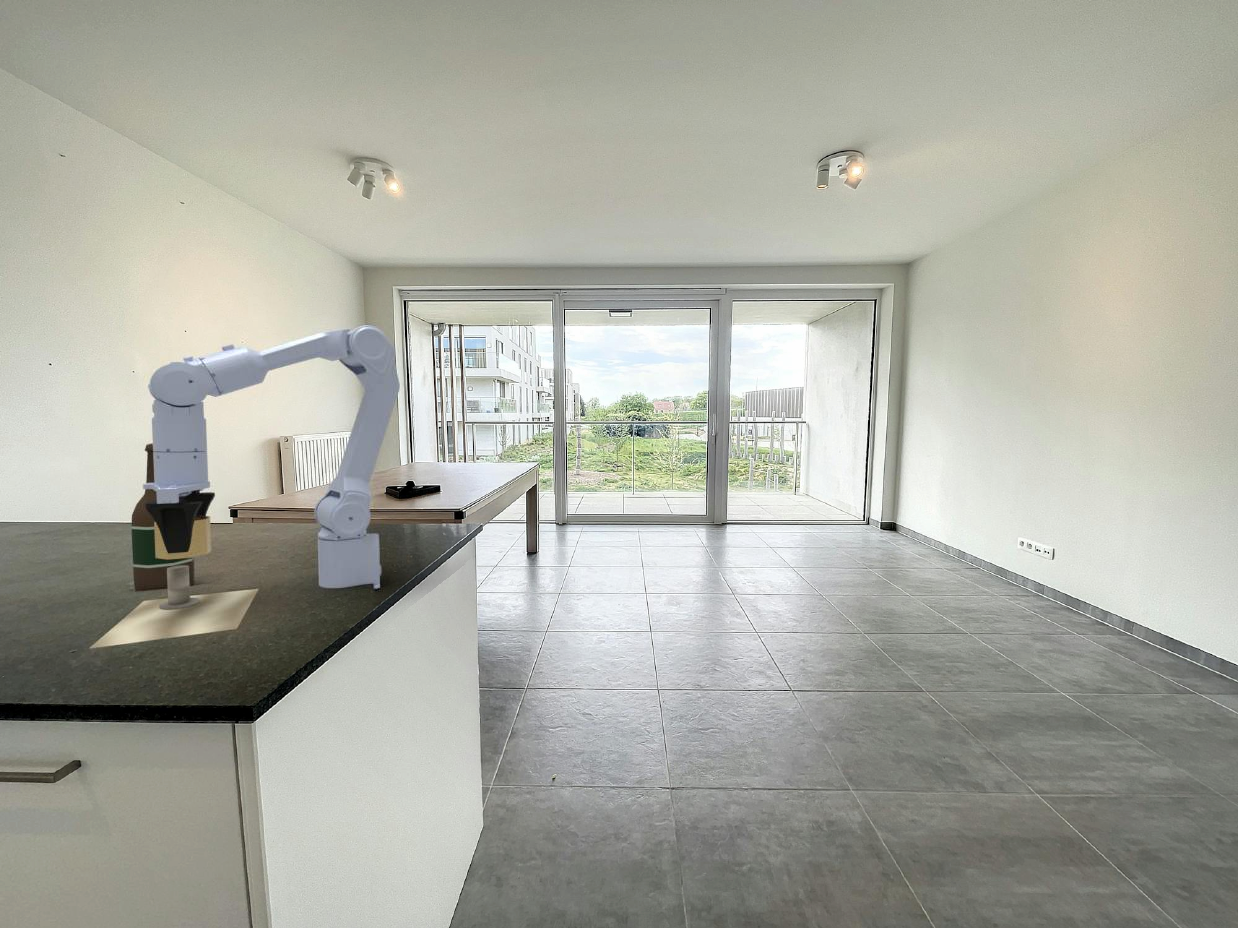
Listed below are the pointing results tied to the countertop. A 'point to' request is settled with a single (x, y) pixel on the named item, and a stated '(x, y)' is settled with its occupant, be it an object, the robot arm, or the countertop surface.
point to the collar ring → (198, 540)
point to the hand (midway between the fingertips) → (184, 547)
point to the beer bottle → (150, 542)
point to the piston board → (180, 613)
